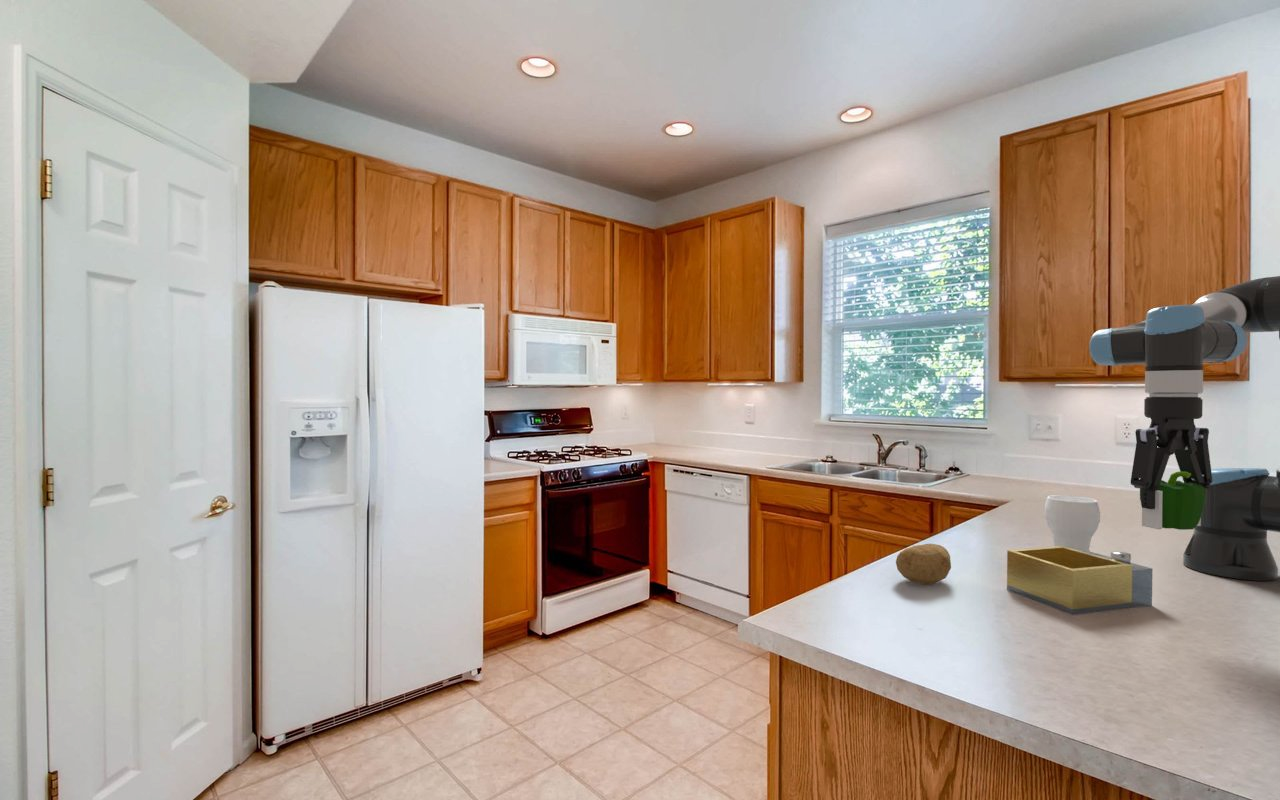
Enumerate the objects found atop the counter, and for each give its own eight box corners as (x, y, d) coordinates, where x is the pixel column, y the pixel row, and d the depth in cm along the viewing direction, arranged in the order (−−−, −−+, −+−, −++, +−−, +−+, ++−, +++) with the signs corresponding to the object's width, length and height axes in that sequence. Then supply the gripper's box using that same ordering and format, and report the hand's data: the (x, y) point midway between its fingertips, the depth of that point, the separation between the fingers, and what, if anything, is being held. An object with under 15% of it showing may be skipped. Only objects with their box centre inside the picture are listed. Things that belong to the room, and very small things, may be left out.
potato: (963, 581, 126) (964, 544, 126) (931, 595, 117) (932, 555, 117) (918, 570, 133) (918, 535, 133) (885, 583, 125) (885, 545, 125)
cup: (1109, 570, 134) (1110, 503, 134) (1056, 567, 136) (1057, 502, 136) (1084, 557, 144) (1085, 495, 144) (1035, 554, 146) (1036, 494, 146)
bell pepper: (1127, 522, 108) (1127, 467, 108) (1173, 522, 107) (1174, 467, 107) (1166, 533, 99) (1167, 473, 99) (1217, 533, 99) (1218, 473, 99)
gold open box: (1080, 582, 125) (1080, 539, 125) (1151, 605, 112) (1152, 557, 112) (1006, 589, 121) (1007, 545, 121) (1072, 614, 107) (1073, 565, 107)
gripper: (1192, 395, 109) (1191, 517, 110) (1104, 395, 104) (1102, 524, 104) (1242, 395, 102) (1240, 527, 102) (1150, 396, 97) (1148, 535, 97)
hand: (1171, 525), depth 103 cm, fingers closed on bell pepper, 8 cm apart
